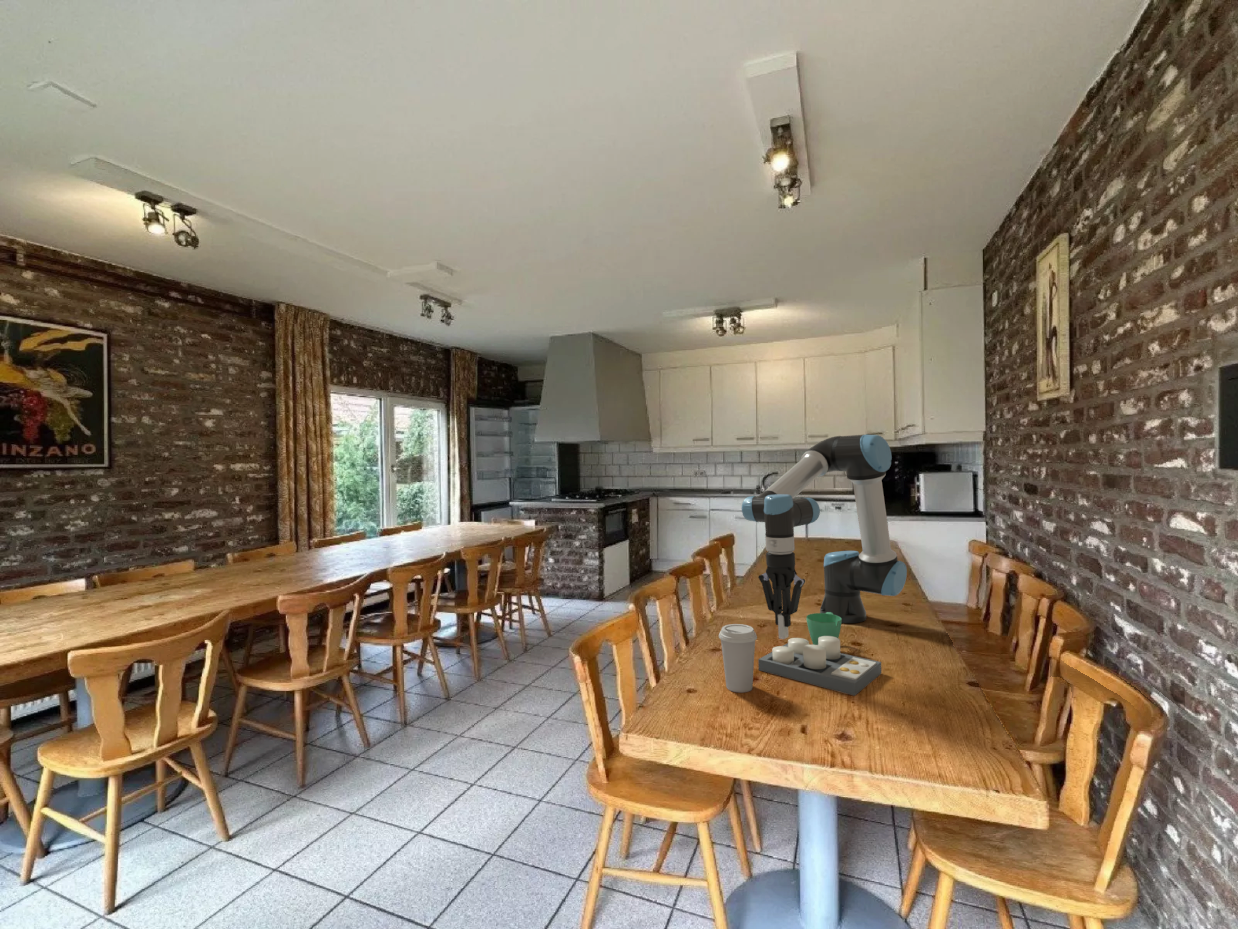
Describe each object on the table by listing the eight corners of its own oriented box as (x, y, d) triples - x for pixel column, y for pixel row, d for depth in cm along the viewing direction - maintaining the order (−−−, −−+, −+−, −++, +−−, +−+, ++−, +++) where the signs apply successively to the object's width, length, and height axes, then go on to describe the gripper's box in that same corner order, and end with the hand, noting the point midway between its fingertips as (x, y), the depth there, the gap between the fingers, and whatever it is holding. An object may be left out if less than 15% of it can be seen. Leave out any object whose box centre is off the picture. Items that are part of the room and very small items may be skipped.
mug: (839, 659, 162) (838, 624, 162) (803, 654, 167) (802, 620, 167) (847, 643, 174) (846, 611, 174) (814, 639, 179) (813, 607, 179)
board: (790, 652, 169) (789, 639, 169) (881, 673, 151) (881, 659, 151) (758, 670, 156) (758, 657, 156) (854, 695, 138) (854, 681, 138)
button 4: (824, 650, 160) (823, 634, 160) (843, 655, 156) (843, 638, 156) (815, 656, 156) (814, 639, 156) (835, 660, 152) (834, 644, 152)
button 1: (779, 660, 160) (778, 644, 160) (797, 665, 156) (797, 649, 156) (769, 666, 156) (768, 650, 156) (788, 671, 152) (787, 654, 152)
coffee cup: (713, 684, 148) (711, 626, 147) (743, 677, 152) (742, 621, 151) (734, 698, 139) (732, 636, 139) (766, 690, 143) (764, 630, 142)
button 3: (809, 659, 153) (809, 643, 153) (829, 664, 150) (829, 647, 149) (799, 665, 149) (799, 648, 149) (820, 671, 146) (820, 653, 145)
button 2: (794, 651, 166) (793, 636, 166) (812, 656, 162) (812, 640, 162) (784, 657, 162) (784, 641, 162) (803, 661, 158) (803, 645, 158)
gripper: (751, 551, 157) (755, 636, 158) (796, 556, 148) (799, 646, 149) (765, 547, 162) (768, 629, 163) (809, 551, 153) (812, 638, 154)
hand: (783, 637), depth 156 cm, fingers closed
